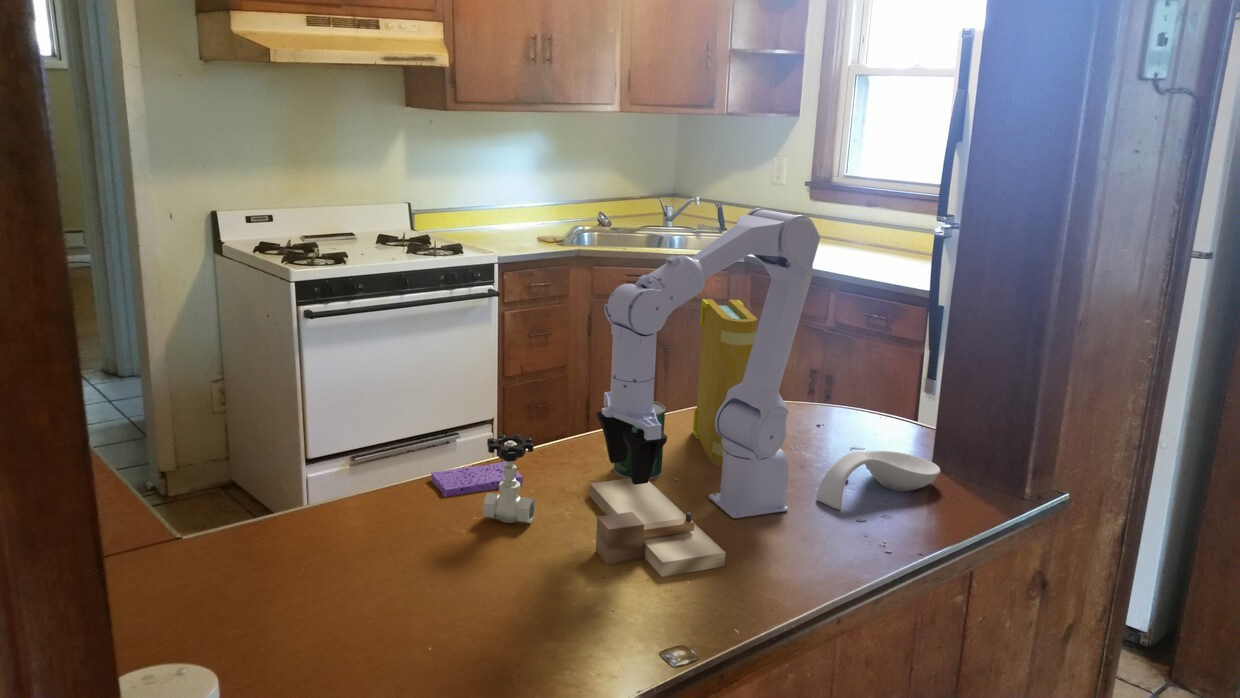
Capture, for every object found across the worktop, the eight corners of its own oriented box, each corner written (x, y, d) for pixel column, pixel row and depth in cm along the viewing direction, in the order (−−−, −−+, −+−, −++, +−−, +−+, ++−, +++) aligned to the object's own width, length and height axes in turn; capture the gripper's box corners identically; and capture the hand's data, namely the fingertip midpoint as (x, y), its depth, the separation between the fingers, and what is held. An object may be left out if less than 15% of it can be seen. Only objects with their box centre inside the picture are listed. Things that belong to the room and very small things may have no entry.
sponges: (523, 487, 142) (523, 476, 142) (444, 500, 136) (444, 488, 136) (506, 471, 148) (507, 460, 148) (430, 482, 142) (430, 471, 142)
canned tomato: (671, 471, 150) (675, 407, 147) (640, 484, 144) (644, 418, 141) (634, 458, 155) (638, 396, 152) (603, 470, 149) (606, 405, 146)
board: (643, 488, 143) (644, 476, 142) (724, 566, 119) (725, 552, 119) (589, 495, 139) (590, 483, 139) (661, 576, 116) (662, 562, 116)
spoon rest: (892, 465, 158) (897, 425, 156) (952, 489, 149) (958, 447, 147) (798, 494, 144) (803, 451, 142) (858, 522, 135) (864, 477, 133)
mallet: (683, 537, 127) (685, 504, 126) (696, 550, 123) (699, 516, 122) (595, 551, 122) (597, 516, 121) (606, 565, 118) (608, 529, 117)
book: (692, 432, 169) (701, 299, 162) (728, 432, 169) (739, 299, 163) (711, 467, 152) (722, 321, 146) (750, 467, 153) (763, 321, 147)
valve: (524, 534, 126) (526, 452, 123) (478, 528, 127) (479, 447, 124) (538, 514, 132) (540, 436, 129) (494, 509, 133) (495, 431, 130)
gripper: (584, 363, 126) (581, 456, 129) (627, 395, 113) (622, 497, 116) (631, 359, 128) (627, 450, 132) (678, 390, 115) (672, 490, 119)
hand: (628, 472), depth 124 cm, fingers open, 7 cm apart
